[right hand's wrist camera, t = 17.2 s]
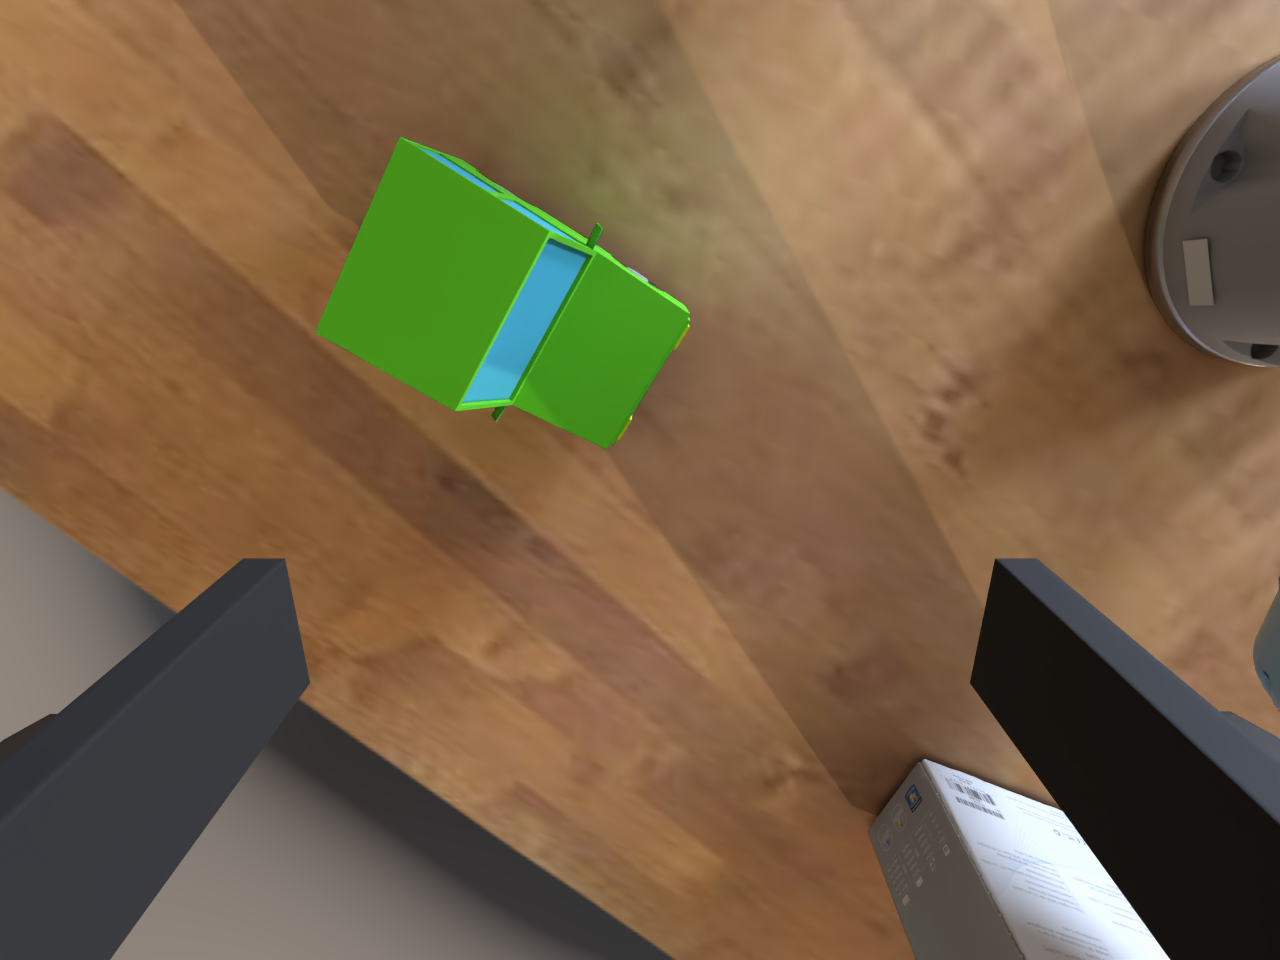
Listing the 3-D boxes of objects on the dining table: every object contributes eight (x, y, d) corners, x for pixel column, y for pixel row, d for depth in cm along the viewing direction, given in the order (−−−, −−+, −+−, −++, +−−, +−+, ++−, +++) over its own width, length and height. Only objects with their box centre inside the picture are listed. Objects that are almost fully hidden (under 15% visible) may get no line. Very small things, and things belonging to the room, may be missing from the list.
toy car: (605, 445, 39) (593, 514, 30) (392, 322, 37) (305, 355, 27) (703, 287, 36) (724, 308, 26) (476, 141, 33) (412, 109, 24)
